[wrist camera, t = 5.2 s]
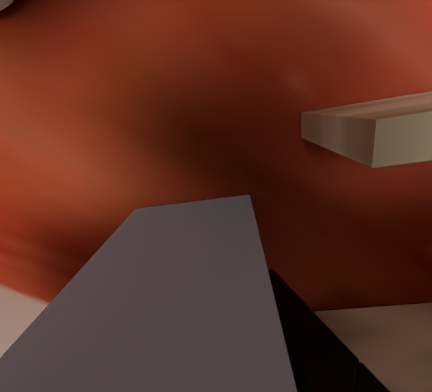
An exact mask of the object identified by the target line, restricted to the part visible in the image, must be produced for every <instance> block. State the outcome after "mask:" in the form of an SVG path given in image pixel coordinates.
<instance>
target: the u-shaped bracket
mask: <svg viewBox="0 0 432 392" xmlns="http://www.w3.org/2000/svg"><path fill="white" fill-rule="evenodd" d="M301 138H303V139H305V140H308V141H310V142H312V143H315V144H317V145H319V146H322V147H324V148H326V149H329V150H331V151H333V152H335V153H338V154H340V155H342V156H345V157H347V158H349V159H352V160H354V161H356V162H359V163H361V164H363V165H366V166H368V167H370V168H377V167H385V166H392V165H399V164H407V163H414V162H421V161H429V160H432V91H429V92H423V93H417V94H411V95H405V96H399V97H393V98H387V99H381V100H374V101H368V102H362V103H356V104H350V105H344V106H338V107H332V108H326V109H320V110H314V111H308V112H302V113H301ZM314 313H315V314H316V315H317V316H318V317H319V318H320V319H321V320H322V321H323V322H324V323H325V324H326V325H327V326H328V327H329V328H330V329H331V330H332V332H333V333H334V334H335V335H336V336H337V337H338V338H339V339H340V340H341V341H342V342H343V343H344V344H345V345H346V346H347V347H348V348H349V349H350V350H351V351H352V352H353V354H354V355H355V356H356V357H357V358H358V359H359V363H360V362H362V363H363V364H364V365H365V366H366V367H367V368H368V369H369V370H370V371H371V372H372V373H373V374H374V375H375V376H376V378H377V379H378V380H379V381H380V382H381V383H382V384H383V385H384V386H385V387H386V388H387V389H388V390H389V391H390V392H432V303H420V304H407V305H393V306H380V307H367V308H354V309H340V310H327V311H314Z"/></svg>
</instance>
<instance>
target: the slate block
mask: <svg viewBox="0 0 432 392" xmlns="http://www.w3.org/2000/svg"><path fill="white" fill-rule="evenodd" d="M0 392H297V389H296V385H295V381H294V377H293V372H292V368H291V364H290V360H289V356H288V352H287V348H286V343H285V339H284V335H283V331H282V327H281V323H280V318H279V314H278V310H277V306H276V302H275V298H274V294H273V289H272V285H271V281H270V277H269V273H268V269H267V264H266V260H265V256H264V252H263V248H262V244H261V240H260V235H259V231H258V227H257V223H256V219H255V215H254V210H253V206H252V202H251V198H250V195H242V196H234V197H225V198H217V199H209V200H201V201H193V202H185V203H176V204H168V205H160V206H152V207H144V208H136V209H135V210H134V211H133V212H132V213H131V214H130V215H129V216H128V217H127V219H126V220H125V221H124V222H123V223H122V224H121V225H120V226H119V227H118V228H117V230H116V231H115V232H114V233H113V234H112V235H111V236H110V237H109V238H108V240H107V241H106V242H105V243H104V244H103V245H102V246H101V247H100V248H99V249H98V251H97V252H96V253H95V254H94V255H93V256H92V257H91V258H90V259H89V260H88V262H87V263H86V264H85V265H84V266H83V267H82V268H81V269H80V270H79V272H78V273H77V274H76V275H75V276H74V277H73V278H72V279H71V280H70V281H69V283H68V284H67V285H66V286H65V287H64V288H63V289H62V290H61V291H60V293H59V294H58V295H57V296H56V297H55V298H54V299H53V300H52V301H51V302H50V304H49V305H48V306H47V307H46V308H45V309H44V310H43V311H42V312H41V314H40V315H39V316H38V317H37V318H36V319H35V320H34V321H33V322H32V323H31V325H30V326H29V327H28V328H27V329H26V330H25V331H24V332H23V333H22V335H21V336H20V337H19V338H18V339H17V340H16V341H15V342H14V343H13V344H12V346H11V347H10V348H9V349H8V350H7V351H6V352H5V353H4V354H3V356H2V357H1V358H0Z"/></svg>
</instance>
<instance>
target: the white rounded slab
mask: <svg viewBox="0 0 432 392" xmlns="http://www.w3.org/2000/svg"><path fill="white" fill-rule="evenodd" d="M13 1H14V0H0V11H1V10H3V9H4V8H6V7H7V6H9V5H10V4H11V3H12V2H13Z"/></svg>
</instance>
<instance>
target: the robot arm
mask: <svg viewBox="0 0 432 392" xmlns="http://www.w3.org/2000/svg"><path fill="white" fill-rule="evenodd" d="M268 273H269V277H270V281H271V285H272V289H273V294H274V298H275V302H276V306H277V310H278V314H279V318H280V323H281V327H282V331H283V335H284V339H285V343H286V348H287V352H288V356H289V360H290V364H291V368H292V372H293V377H294V381H295V385H296V389H297V392H390V391H389V390H388V389H387V388H386V387H385V386H384V385H383V384H382V383H381V382H380V381H379V380H378V379H377V378H376V376H375V375H374V374H373V373H372V372H371V371H370V370H369V369H368V368H367V367H366V366H365V365H364V364H363V363H362V362H360V363H359V359H358V358H357V357H356V356H355V355H354V354H353V352H352V351H351V350H350V349H349V348H348V347H347V346H346V345H345V344H344V343H343V342H342V341H341V340H340V339H339V338H338V337H337V336H336V335H335V334H334V333H333V332H332V330H331V329H330V328H329V327H328V326H327V325H326V324H325V323H324V322H323V321H322V320H321V319H320V318H319V317H318V316H317V315H316V314H315V313H314V312H313V311H312V310H311V308H310V307H309V306H308V305H307V304H306V303H305V302H304V301H303V300H302V299H301V298H300V297H299V296H298V295H297V294H296V293H295V292H294V291H293V290H292V289H291V288H290V286H289V285H288V284H287V283H286V282H285V281H284V280H283V279H282V278H281V277H280V276H279V275H278V274H277V273H276V272H275V271H274V270H273V269H268Z"/></svg>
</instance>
